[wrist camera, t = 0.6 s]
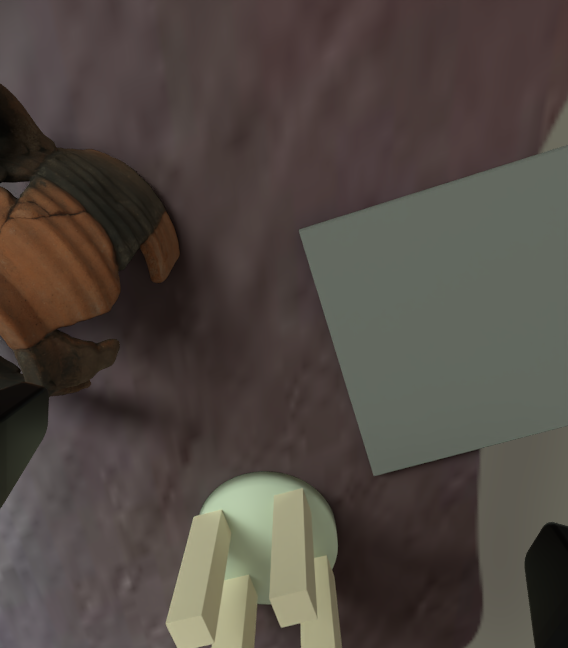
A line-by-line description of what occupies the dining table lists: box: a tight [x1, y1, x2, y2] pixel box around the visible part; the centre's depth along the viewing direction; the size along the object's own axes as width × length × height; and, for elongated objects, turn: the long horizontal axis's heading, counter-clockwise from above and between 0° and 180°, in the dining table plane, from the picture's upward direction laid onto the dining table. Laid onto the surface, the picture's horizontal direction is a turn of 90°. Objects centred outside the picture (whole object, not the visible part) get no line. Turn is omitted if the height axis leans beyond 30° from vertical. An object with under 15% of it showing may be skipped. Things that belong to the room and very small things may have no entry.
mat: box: [299, 145, 568, 476], centre depth 23 cm, size 12×12×1 cm
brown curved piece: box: [0, 84, 180, 397], centre depth 20 cm, size 12×10×8 cm
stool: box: [166, 471, 342, 648], centre depth 23 cm, size 7×7×7 cm
